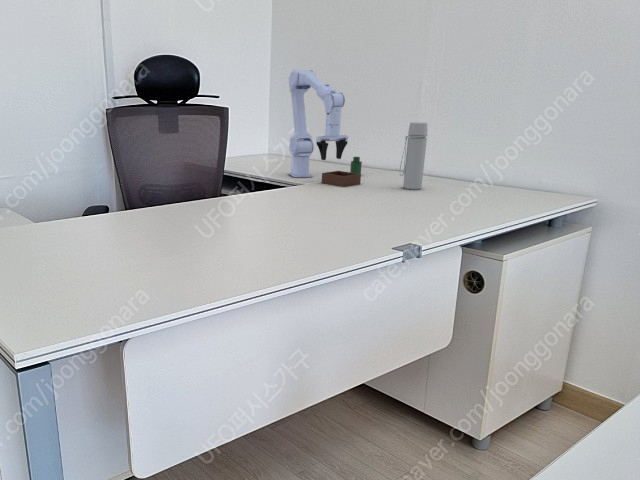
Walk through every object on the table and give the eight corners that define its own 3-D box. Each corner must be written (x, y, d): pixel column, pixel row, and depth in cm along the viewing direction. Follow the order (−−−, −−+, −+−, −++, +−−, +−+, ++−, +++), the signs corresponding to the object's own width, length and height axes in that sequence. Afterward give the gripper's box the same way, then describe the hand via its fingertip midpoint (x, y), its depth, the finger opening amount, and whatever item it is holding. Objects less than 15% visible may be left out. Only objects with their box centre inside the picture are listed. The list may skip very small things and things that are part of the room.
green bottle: (348, 174, 268) (349, 156, 265) (358, 174, 269) (359, 156, 266) (352, 176, 264) (353, 157, 261) (362, 175, 265) (363, 157, 262)
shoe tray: (321, 182, 247) (322, 173, 245) (337, 180, 253) (338, 170, 252) (344, 186, 238) (344, 176, 237) (360, 184, 244) (361, 174, 243)
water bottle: (419, 187, 238) (426, 122, 229) (423, 190, 231) (430, 123, 222) (396, 186, 239) (402, 122, 230) (399, 190, 232) (405, 123, 223)
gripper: (324, 126, 231) (322, 161, 236) (353, 124, 237) (351, 159, 242) (313, 124, 237) (312, 159, 241) (342, 123, 243) (340, 157, 248)
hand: (331, 159), depth 242 cm, fingers open, 7 cm apart
